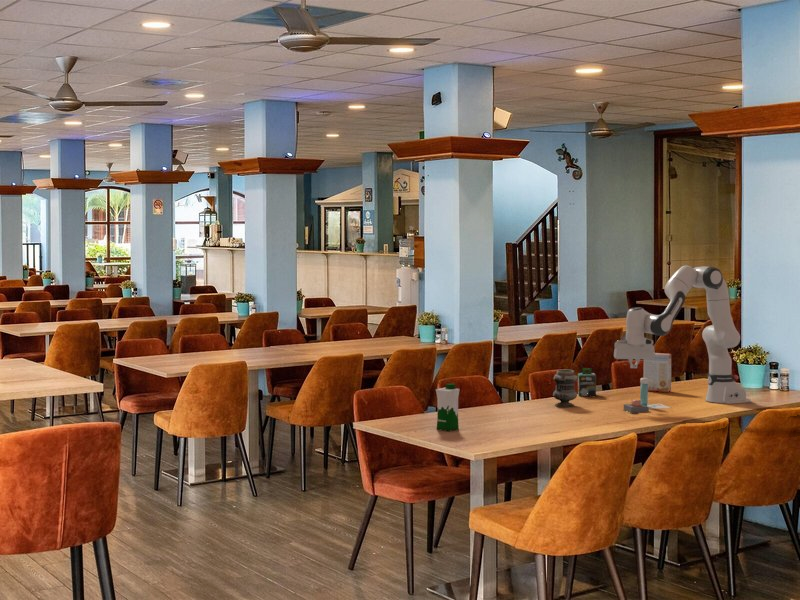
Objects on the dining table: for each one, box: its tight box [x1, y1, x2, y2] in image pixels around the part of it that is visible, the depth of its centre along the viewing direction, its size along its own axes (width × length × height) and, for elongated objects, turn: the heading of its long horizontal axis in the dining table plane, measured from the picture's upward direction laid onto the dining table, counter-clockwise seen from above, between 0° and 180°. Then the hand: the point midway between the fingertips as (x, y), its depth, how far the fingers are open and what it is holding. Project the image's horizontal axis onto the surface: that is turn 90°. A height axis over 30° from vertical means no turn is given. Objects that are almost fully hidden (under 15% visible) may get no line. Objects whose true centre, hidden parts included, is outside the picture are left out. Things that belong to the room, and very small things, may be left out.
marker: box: [639, 377, 649, 406], centre depth 503 cm, size 4×4×14 cm
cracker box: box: [642, 352, 672, 393], centre depth 556 cm, size 14×6×21 cm, turn 59°
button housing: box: [623, 403, 650, 414], centre depth 492 cm, size 9×9×3 cm
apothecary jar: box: [552, 368, 578, 408], centre depth 509 cm, size 12×12×18 cm
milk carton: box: [435, 382, 460, 432], centre depth 448 cm, size 9×9×20 cm
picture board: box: [647, 403, 672, 410], centre depth 504 cm, size 18×14×1 cm
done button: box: [630, 399, 641, 407], centre depth 492 cm, size 4×4×4 cm
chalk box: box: [577, 367, 597, 397], centre depth 543 cm, size 9×9×15 cm
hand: (633, 368), depth 501 cm, fingers closed
